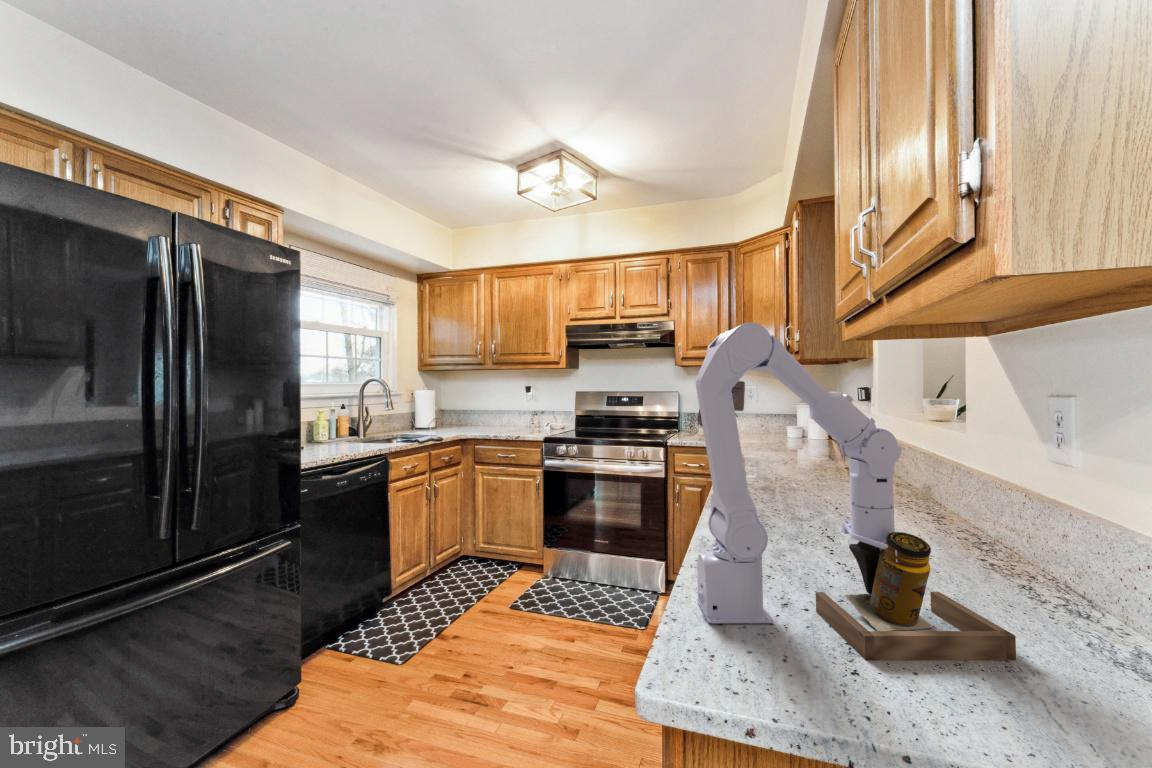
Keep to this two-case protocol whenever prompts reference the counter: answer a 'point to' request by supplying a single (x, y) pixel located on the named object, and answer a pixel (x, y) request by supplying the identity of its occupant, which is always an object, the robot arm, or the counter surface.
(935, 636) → the box
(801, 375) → the robot arm
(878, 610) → the condiment
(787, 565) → the counter surface
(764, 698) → the counter surface
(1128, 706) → the counter surface
